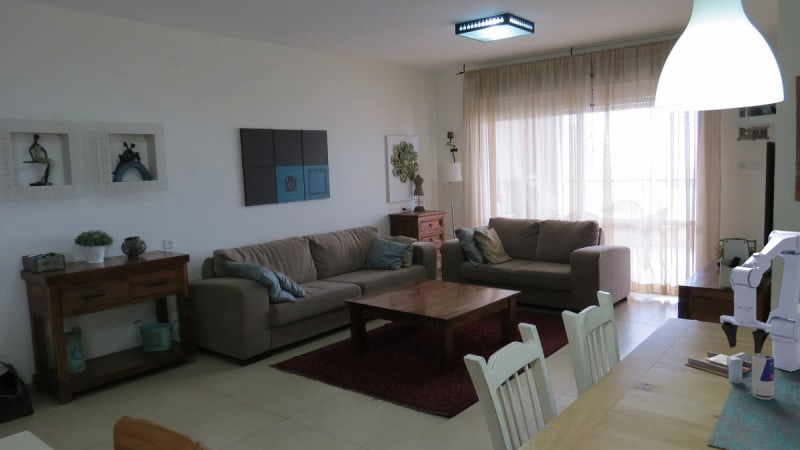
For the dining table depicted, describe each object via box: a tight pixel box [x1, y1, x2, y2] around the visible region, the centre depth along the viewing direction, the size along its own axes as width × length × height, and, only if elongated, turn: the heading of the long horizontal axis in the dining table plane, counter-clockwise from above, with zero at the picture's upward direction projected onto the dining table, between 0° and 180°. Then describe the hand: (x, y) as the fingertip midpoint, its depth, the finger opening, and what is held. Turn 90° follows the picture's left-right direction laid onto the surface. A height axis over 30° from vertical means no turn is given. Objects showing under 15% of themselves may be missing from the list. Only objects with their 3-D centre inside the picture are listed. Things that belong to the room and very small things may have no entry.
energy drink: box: [751, 352, 775, 401], centre depth 166 cm, size 5×5×12 cm
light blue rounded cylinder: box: [728, 357, 743, 384], centre depth 178 cm, size 4×4×7 cm
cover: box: [706, 352, 746, 367], centre depth 189 cm, size 8×8×3 cm
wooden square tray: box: [684, 350, 752, 379], centre depth 191 cm, size 14×15×2 cm
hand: (745, 350), depth 176 cm, fingers open, 7 cm apart
